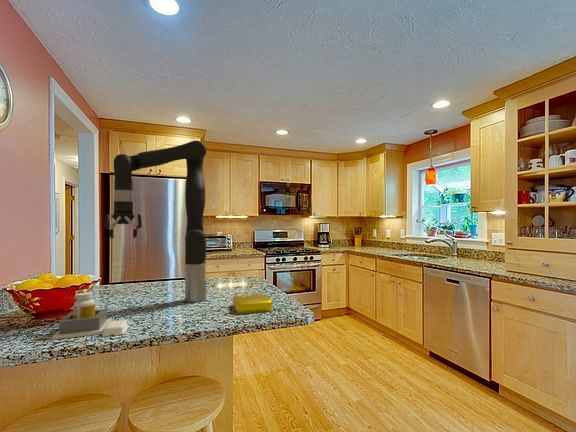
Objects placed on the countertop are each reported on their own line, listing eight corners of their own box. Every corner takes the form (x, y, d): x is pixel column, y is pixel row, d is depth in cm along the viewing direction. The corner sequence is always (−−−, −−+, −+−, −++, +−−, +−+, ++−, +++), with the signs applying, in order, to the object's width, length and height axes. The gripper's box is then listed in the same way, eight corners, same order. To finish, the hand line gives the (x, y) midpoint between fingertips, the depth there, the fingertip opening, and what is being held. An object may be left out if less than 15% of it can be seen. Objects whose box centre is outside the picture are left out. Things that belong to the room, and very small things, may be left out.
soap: (124, 335, 98) (123, 326, 99) (100, 338, 96) (100, 329, 96) (129, 326, 107) (129, 318, 107) (107, 328, 105) (107, 320, 105)
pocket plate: (111, 320, 112) (112, 307, 113) (103, 333, 99) (103, 318, 99) (67, 325, 108) (67, 311, 108) (51, 339, 94) (52, 323, 95)
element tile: (236, 315, 119) (236, 303, 119) (232, 305, 133) (232, 294, 134) (273, 311, 123) (273, 300, 124) (265, 302, 138) (265, 292, 138)
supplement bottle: (99, 323, 107) (99, 291, 107) (87, 329, 101) (87, 295, 101) (81, 323, 107) (81, 291, 107) (68, 329, 100) (68, 295, 101)
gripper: (102, 200, 125) (102, 239, 124) (140, 200, 130) (140, 238, 129) (106, 201, 132) (106, 238, 131) (142, 201, 137) (142, 237, 136)
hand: (123, 238), depth 130 cm, fingers open, 8 cm apart
